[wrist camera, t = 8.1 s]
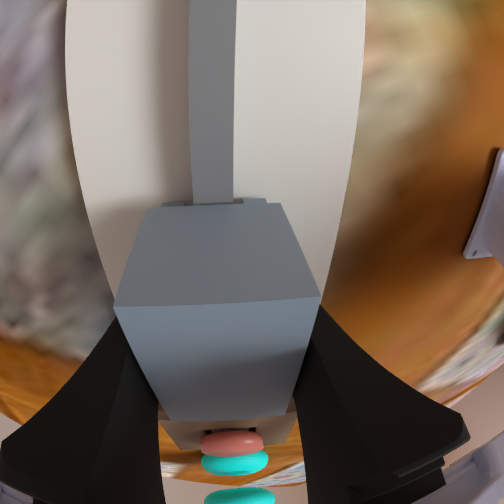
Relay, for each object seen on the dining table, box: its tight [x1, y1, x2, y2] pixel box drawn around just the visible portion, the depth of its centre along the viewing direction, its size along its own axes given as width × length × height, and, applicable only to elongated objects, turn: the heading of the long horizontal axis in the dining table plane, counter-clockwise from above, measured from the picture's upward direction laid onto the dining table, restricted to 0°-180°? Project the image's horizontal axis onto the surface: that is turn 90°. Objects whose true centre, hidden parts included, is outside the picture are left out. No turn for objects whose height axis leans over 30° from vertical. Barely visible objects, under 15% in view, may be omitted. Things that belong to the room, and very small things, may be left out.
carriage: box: [113, 198, 322, 422], centre depth 9 cm, size 4×6×5 cm, turn 178°
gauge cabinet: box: [158, 394, 297, 450], centre depth 18 cm, size 8×7×5 cm
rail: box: [65, 0, 366, 303], centre depth 10 cm, size 10×22×3 cm, turn 178°
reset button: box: [200, 428, 264, 457], centre depth 17 cm, size 4×4×5 cm
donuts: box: [201, 450, 275, 504], centre depth 31 cm, size 10×10×10 cm
